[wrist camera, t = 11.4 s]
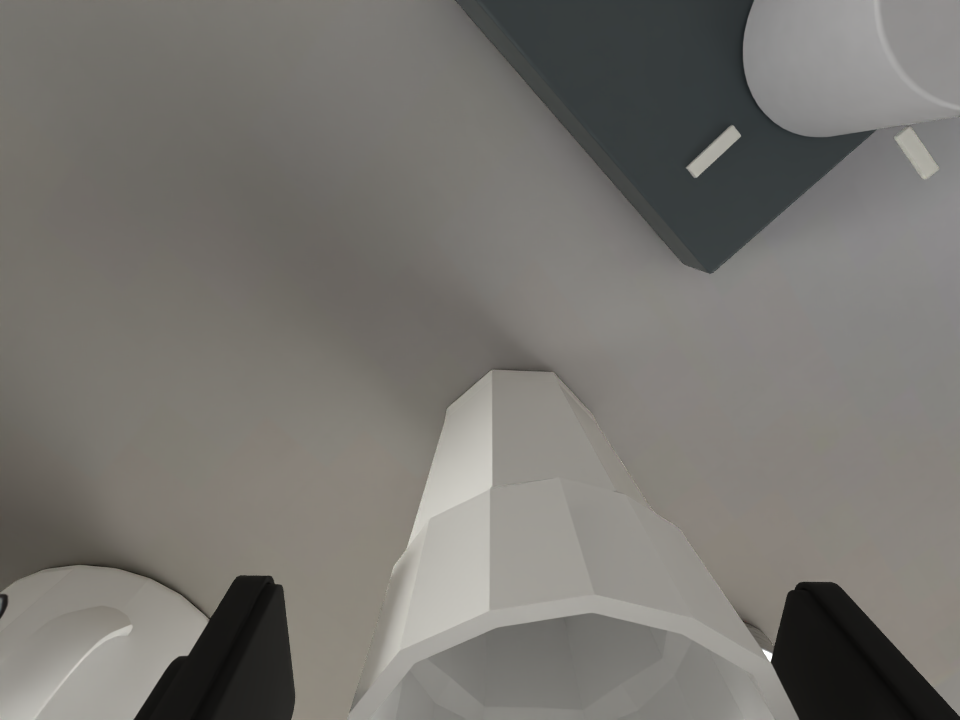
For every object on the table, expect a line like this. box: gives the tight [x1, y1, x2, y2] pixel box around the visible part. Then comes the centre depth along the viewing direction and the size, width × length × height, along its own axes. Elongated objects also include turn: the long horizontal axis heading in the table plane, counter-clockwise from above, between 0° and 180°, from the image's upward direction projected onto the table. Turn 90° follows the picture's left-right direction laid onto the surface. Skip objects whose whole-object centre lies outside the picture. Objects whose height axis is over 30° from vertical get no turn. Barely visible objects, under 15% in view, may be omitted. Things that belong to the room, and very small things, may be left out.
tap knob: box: [743, 0, 960, 137], centre depth 10 cm, size 4×4×5 cm
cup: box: [347, 370, 799, 720], centre depth 13 cm, size 7×7×11 cm
